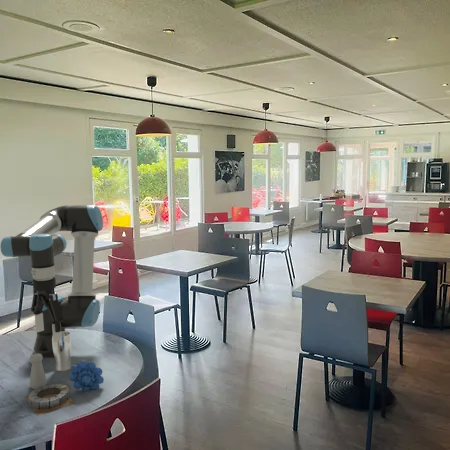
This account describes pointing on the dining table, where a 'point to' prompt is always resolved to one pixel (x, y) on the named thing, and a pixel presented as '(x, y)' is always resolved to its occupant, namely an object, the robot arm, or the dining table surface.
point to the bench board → (40, 412)
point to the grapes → (86, 375)
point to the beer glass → (62, 351)
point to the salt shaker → (37, 372)
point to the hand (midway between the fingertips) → (48, 335)
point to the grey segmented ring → (48, 403)
